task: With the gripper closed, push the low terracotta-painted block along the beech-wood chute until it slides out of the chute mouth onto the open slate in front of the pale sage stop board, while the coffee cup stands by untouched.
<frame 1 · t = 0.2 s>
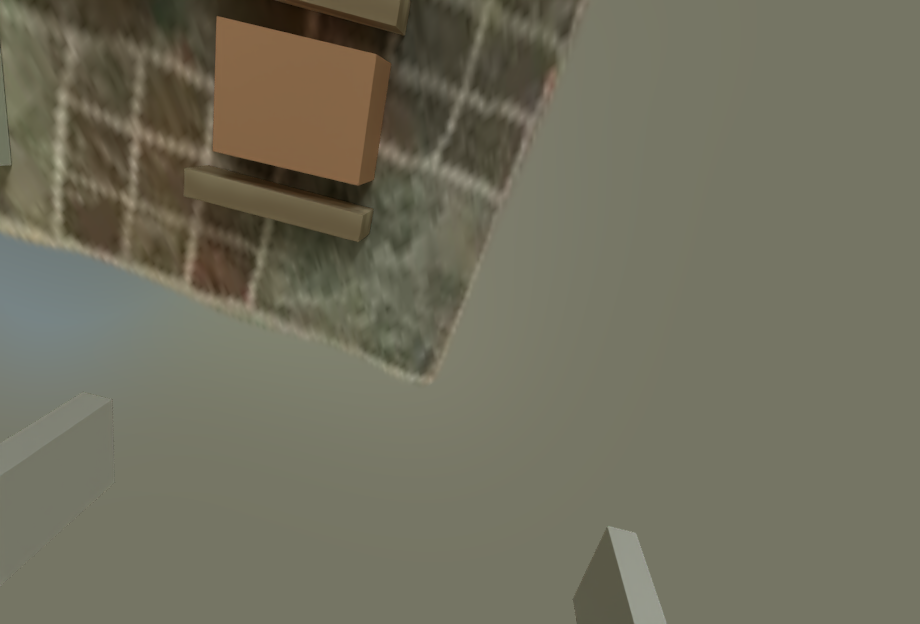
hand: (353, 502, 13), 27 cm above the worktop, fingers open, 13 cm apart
chute: (301, 104, 34), on the worktop
block: (316, 108, 35), on the worktop
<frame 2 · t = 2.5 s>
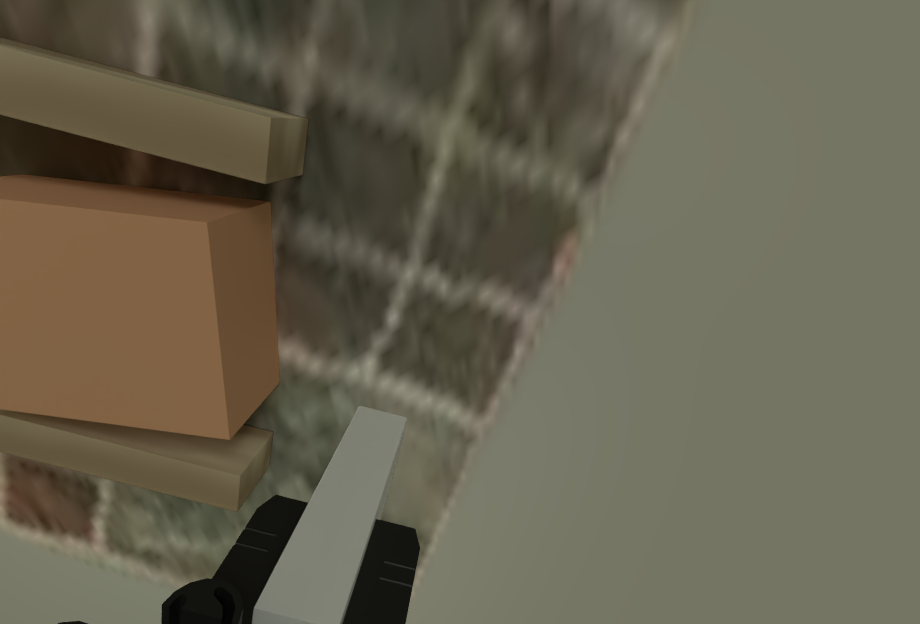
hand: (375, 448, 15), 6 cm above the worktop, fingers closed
chute: (135, 278, 20), on the worktop
block: (164, 282, 20), on the worktop
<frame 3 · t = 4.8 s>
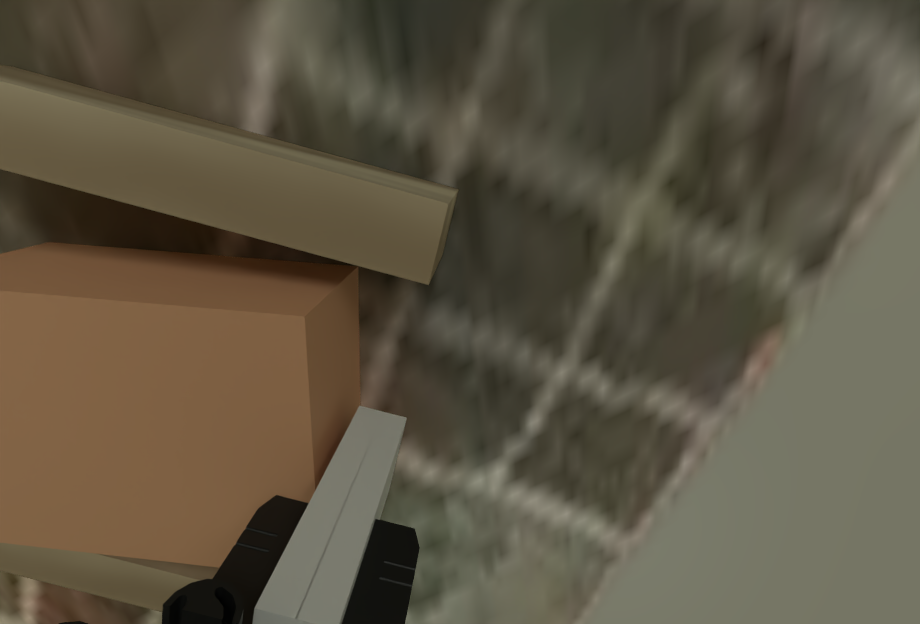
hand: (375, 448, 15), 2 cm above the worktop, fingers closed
chute: (217, 370, 16), on the worktop
block: (219, 365, 17), on the worktop
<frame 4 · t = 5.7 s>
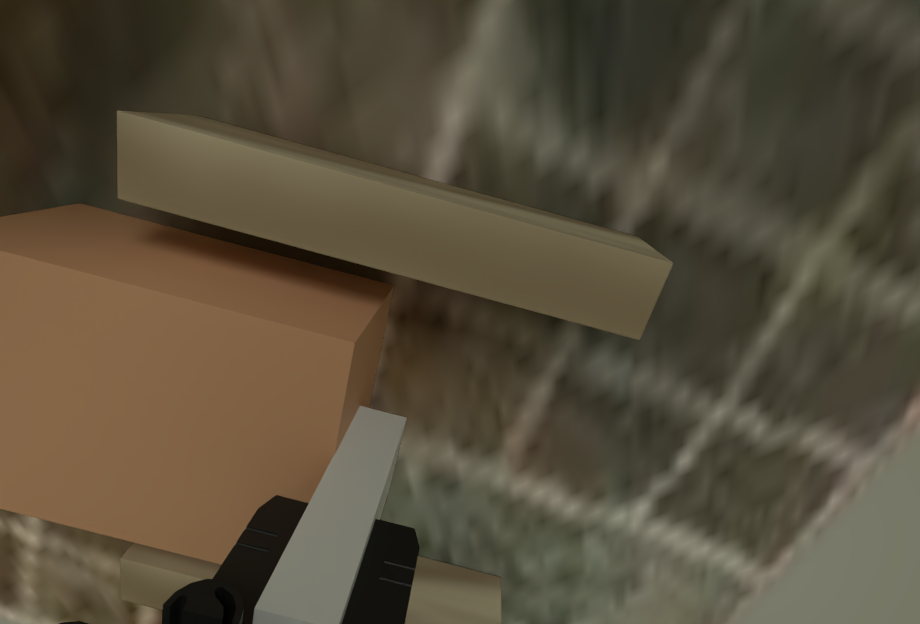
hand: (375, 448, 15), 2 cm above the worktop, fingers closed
chute: (368, 408, 16), on the worktop
block: (232, 354, 16), on the worktop, touching gripper
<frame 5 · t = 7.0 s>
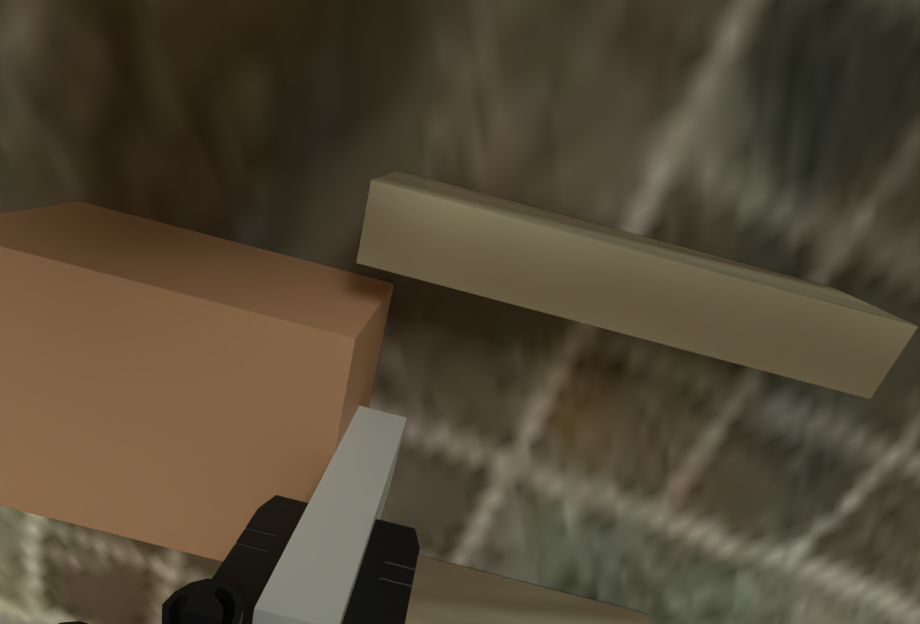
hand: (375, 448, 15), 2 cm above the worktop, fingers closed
chute: (533, 451, 17), on the worktop
block: (232, 351, 16), on the worktop
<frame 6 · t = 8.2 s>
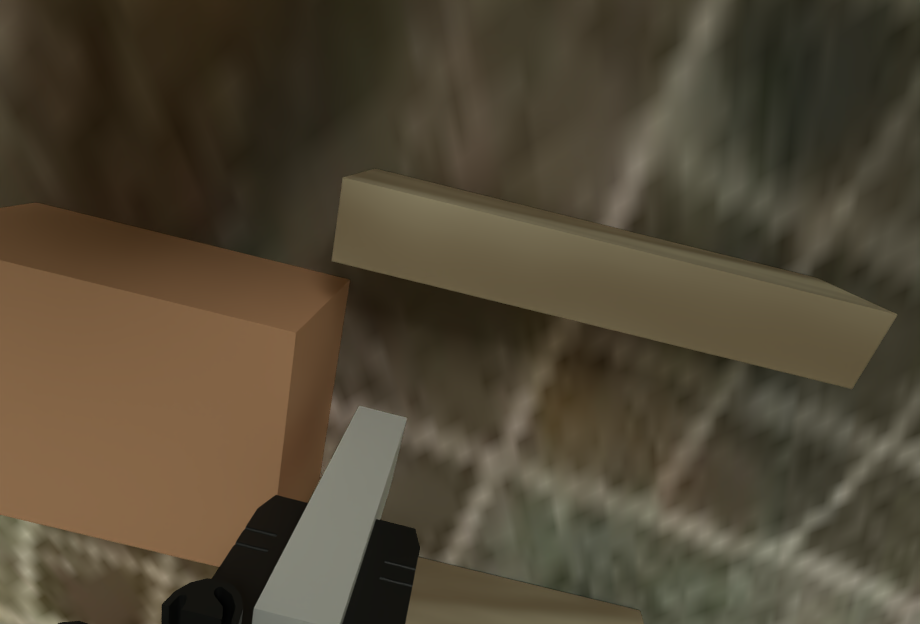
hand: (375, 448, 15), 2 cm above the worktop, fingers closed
chute: (520, 448, 16), on the worktop
block: (195, 350, 16), on the worktop
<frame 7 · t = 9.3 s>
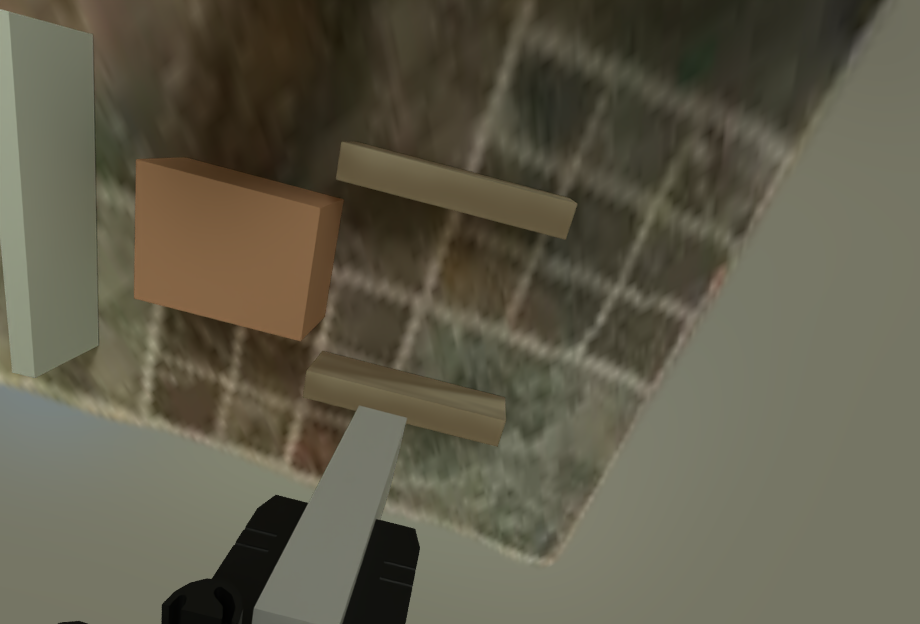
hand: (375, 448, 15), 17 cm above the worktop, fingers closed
chute: (433, 294, 31), on the worktop
block: (260, 240, 31), on the worktop
stop board: (85, 204, 30), on the worktop
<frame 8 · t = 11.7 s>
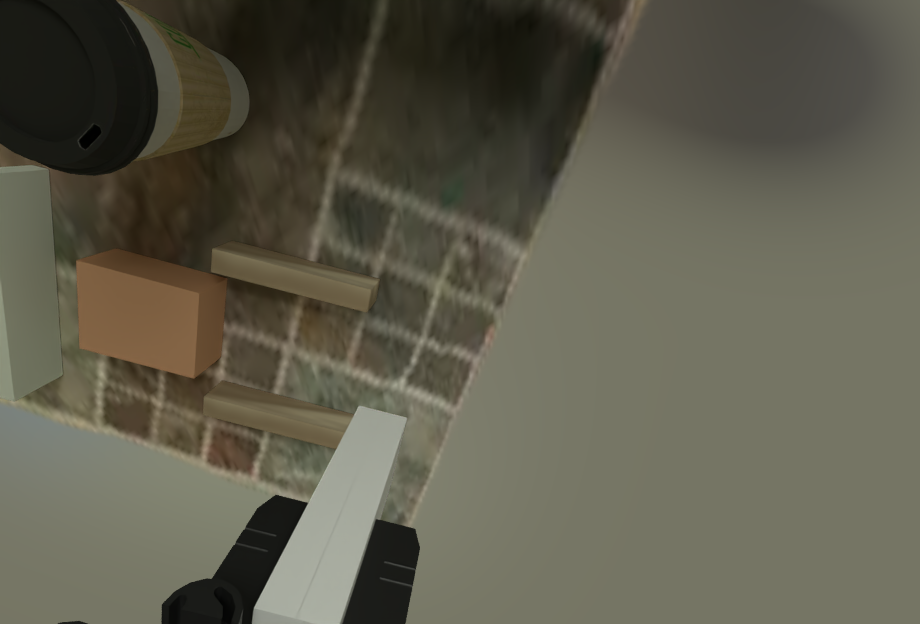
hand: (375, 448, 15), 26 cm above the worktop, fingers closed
chute: (295, 342, 43), on the worktop
coffee cup: (211, 95, 37), on the worktop
block: (172, 303, 43), on the worktop
stop board: (48, 278, 43), on the worktop
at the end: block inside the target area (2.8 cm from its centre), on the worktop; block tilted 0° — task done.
